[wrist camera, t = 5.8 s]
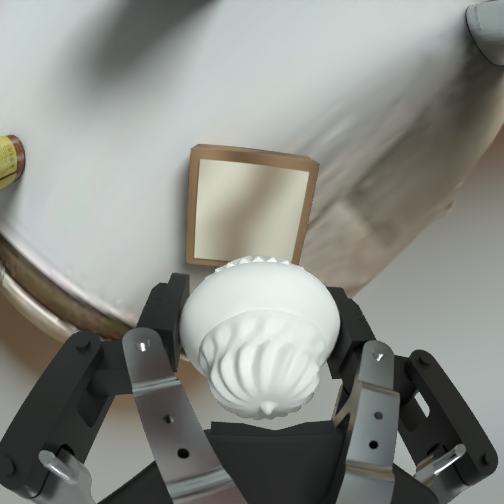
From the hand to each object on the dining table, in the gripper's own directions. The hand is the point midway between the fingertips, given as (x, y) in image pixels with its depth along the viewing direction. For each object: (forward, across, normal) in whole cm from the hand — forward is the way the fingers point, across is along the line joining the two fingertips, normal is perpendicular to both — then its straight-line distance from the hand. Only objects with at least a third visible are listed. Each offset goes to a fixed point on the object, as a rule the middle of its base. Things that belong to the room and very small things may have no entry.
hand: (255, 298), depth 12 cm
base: (+15, 0, 0) cm, 15 cm away
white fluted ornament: (+1, 0, 0) cm, 1 cm away
